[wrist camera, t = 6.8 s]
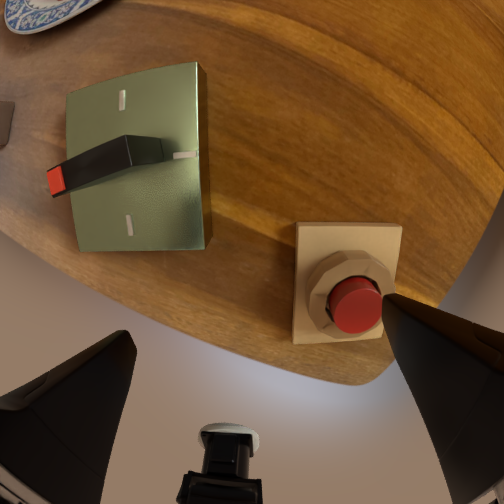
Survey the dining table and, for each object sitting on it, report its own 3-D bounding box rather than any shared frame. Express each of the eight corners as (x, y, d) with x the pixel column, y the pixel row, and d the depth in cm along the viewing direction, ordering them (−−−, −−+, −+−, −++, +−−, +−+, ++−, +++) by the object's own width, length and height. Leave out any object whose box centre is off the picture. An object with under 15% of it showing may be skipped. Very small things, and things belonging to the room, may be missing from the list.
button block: (376, 330, 23) (388, 350, 20) (291, 336, 23) (294, 358, 20) (395, 222, 19) (414, 234, 16) (296, 221, 20) (301, 233, 17)
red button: (370, 318, 19) (378, 331, 18) (326, 321, 19) (330, 336, 18) (379, 275, 18) (388, 287, 16) (331, 277, 18) (337, 289, 17)
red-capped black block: (159, 137, 15) (123, 133, 11) (164, 162, 15) (130, 166, 11) (88, 163, 16) (43, 171, 11) (93, 185, 16) (49, 199, 12)
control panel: (213, 236, 20) (204, 251, 17) (98, 239, 21) (78, 252, 18) (206, 73, 16) (196, 59, 13) (87, 98, 17) (64, 93, 14)
